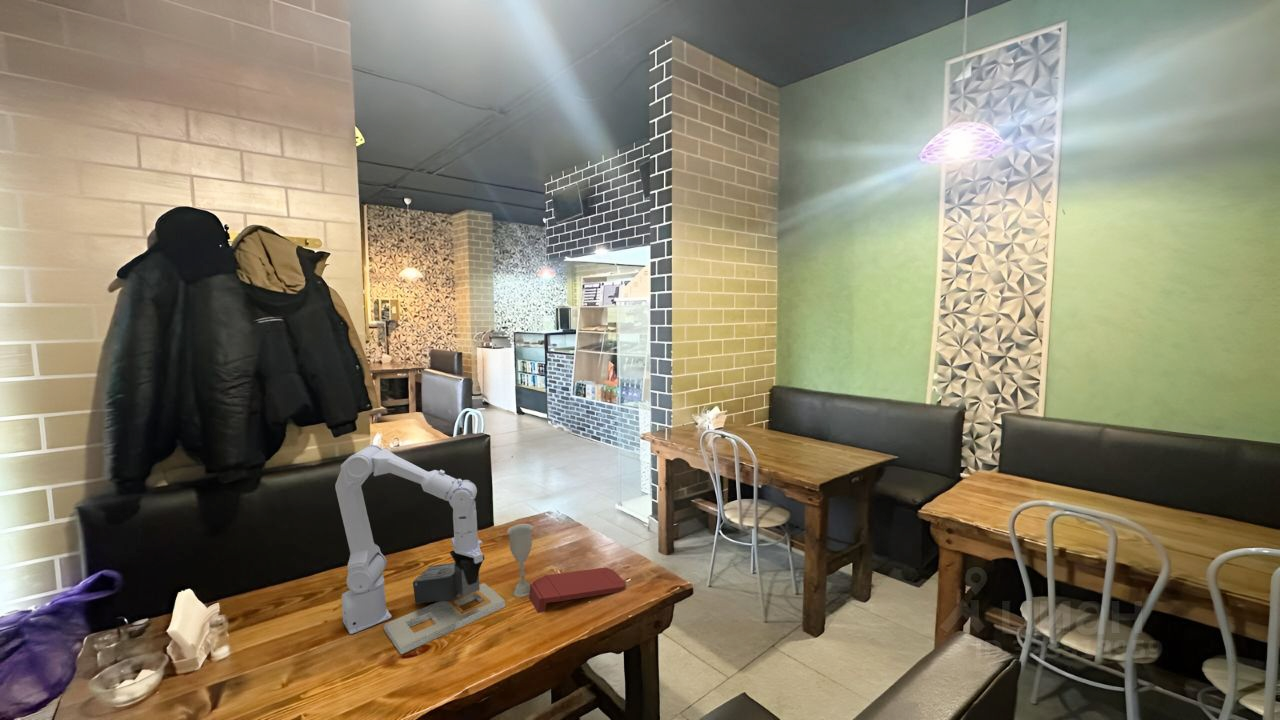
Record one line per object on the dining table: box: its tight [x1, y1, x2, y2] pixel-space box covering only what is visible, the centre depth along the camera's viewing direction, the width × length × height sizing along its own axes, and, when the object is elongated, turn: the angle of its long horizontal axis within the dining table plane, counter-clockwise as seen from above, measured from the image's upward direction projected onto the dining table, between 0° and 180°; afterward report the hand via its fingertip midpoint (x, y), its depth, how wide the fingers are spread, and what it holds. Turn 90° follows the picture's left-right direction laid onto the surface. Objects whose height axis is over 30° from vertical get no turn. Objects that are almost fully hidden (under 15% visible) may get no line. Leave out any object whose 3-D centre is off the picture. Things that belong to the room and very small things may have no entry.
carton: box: [528, 567, 626, 614], centre depth 136 cm, size 12×5×25 cm
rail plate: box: [383, 582, 506, 655], centre depth 125 cm, size 26×12×2 cm, turn 133°
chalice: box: [507, 523, 534, 598], centre depth 135 cm, size 7×7×18 cm
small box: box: [412, 562, 458, 605], centre depth 134 cm, size 11×6×10 cm
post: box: [454, 562, 480, 597], centre depth 128 cm, size 4×4×7 cm
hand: (468, 579), depth 128 cm, fingers closed on post, 4 cm apart
